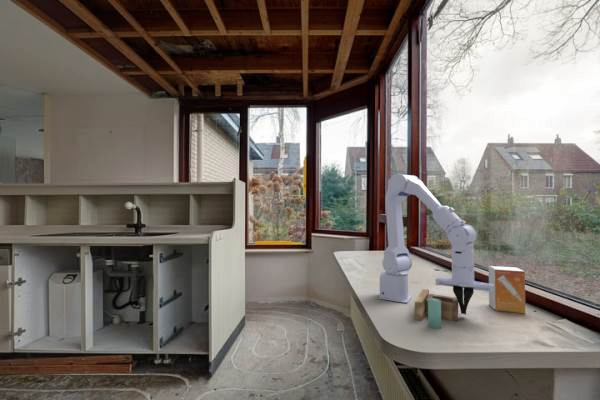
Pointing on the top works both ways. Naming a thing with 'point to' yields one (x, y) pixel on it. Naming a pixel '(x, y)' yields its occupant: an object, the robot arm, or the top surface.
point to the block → (446, 306)
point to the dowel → (434, 313)
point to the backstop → (421, 304)
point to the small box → (507, 289)
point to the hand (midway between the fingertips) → (463, 312)
